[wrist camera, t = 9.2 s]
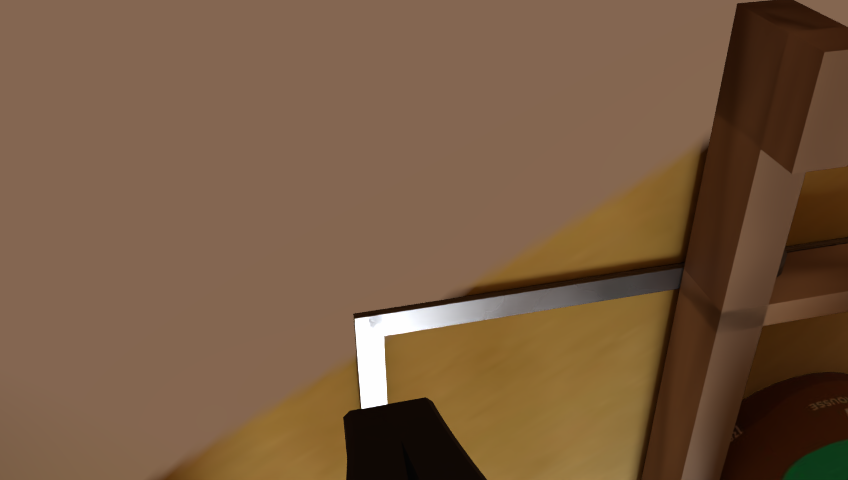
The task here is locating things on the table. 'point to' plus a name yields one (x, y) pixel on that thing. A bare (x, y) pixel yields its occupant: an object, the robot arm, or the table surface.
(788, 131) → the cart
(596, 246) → the table surface
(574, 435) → the table surface
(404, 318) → the track
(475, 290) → the table surface
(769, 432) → the food container
